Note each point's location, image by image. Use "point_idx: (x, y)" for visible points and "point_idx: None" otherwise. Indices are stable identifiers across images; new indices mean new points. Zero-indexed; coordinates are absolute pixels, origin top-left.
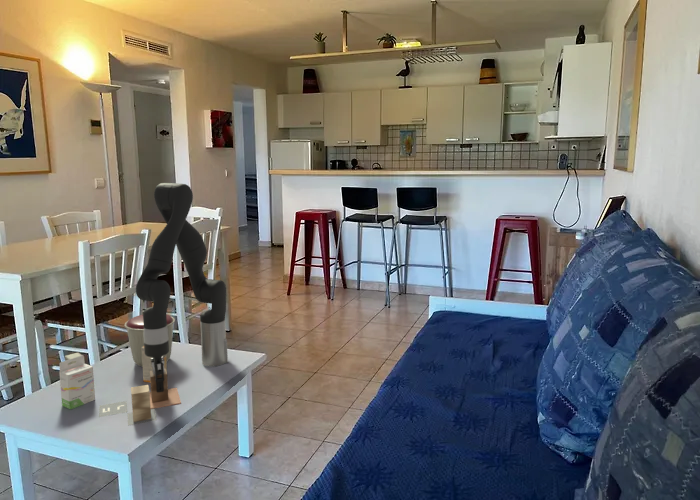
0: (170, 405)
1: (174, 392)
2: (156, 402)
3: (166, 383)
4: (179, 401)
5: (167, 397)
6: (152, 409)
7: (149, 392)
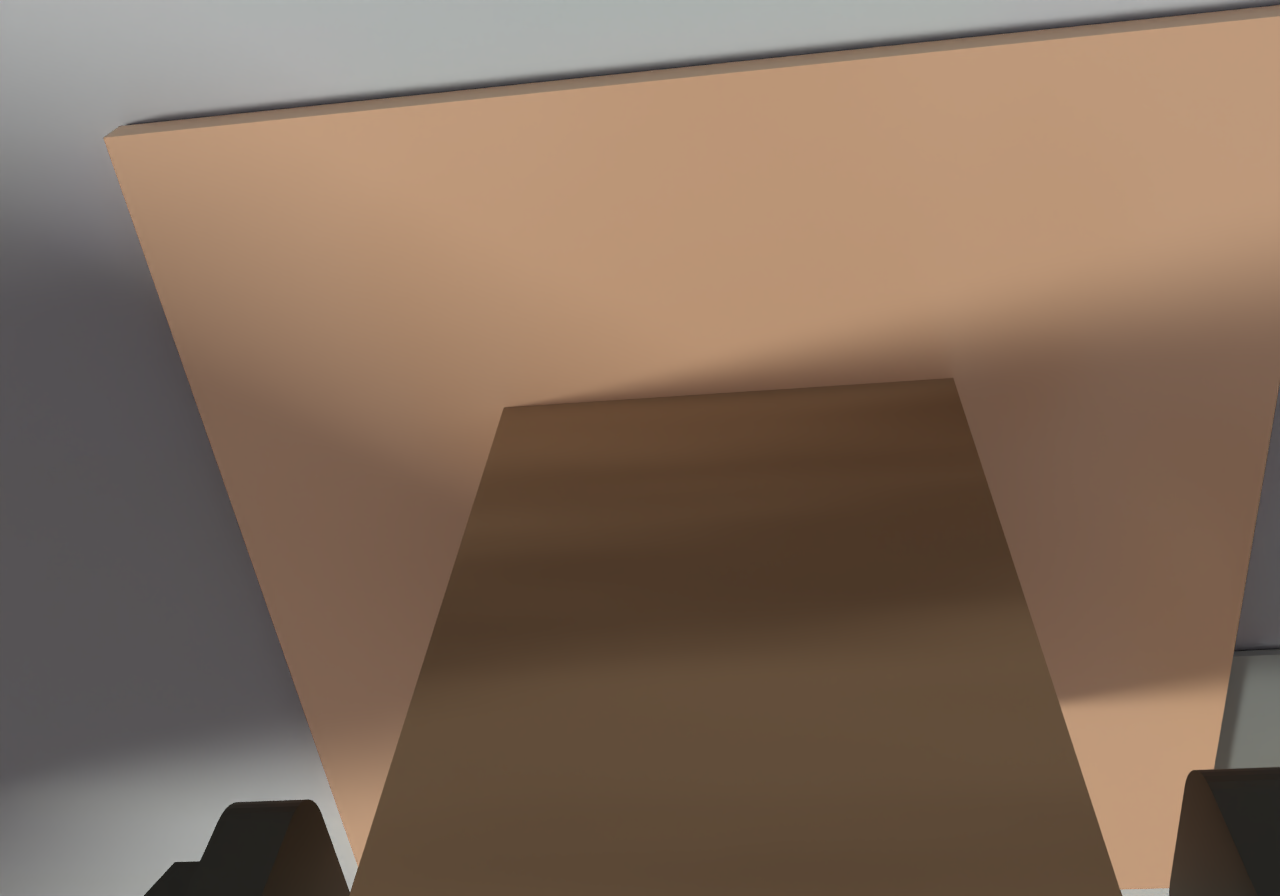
0: (1276, 318)
1: (469, 211)
2: None
3: (1085, 822)
4: (1229, 61)
5: (968, 446)
6: (1252, 697)
7: (336, 759)
